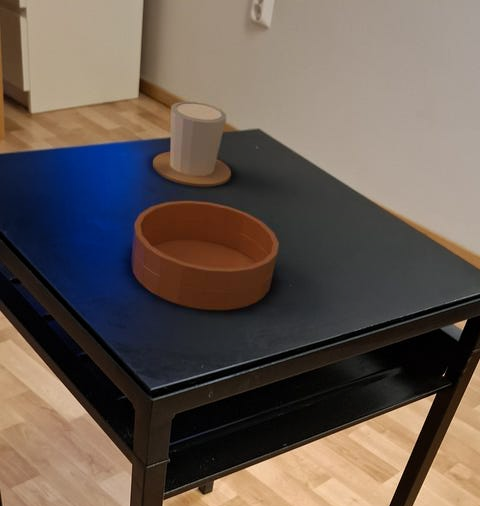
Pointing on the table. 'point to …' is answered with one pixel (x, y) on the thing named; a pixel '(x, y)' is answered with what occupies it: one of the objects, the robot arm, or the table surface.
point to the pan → (203, 255)
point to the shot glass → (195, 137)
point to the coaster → (213, 179)
